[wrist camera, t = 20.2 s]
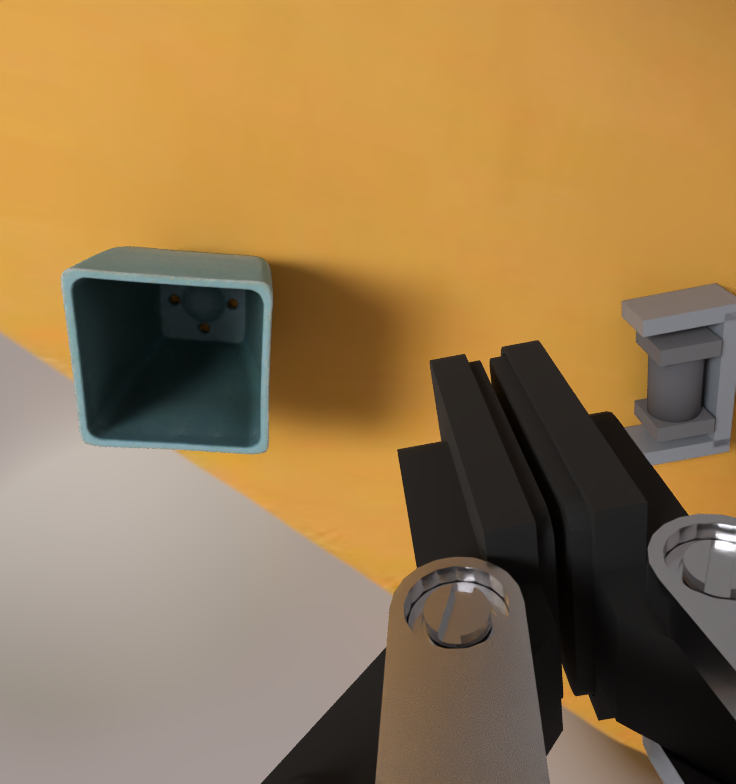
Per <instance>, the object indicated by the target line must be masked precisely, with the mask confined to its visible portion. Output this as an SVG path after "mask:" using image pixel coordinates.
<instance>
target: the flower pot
mask: <svg viewBox="0 0 736 784" xmlns="http://www.w3.org/2000/svg"><path fill="white" fill-rule="evenodd" d="M61 288H62V295H63V302H64V309H65V317H66V323H67V332H68V339H69V348H70V353H71V362H72V363H71V364H72V372H73V379H74V388H75V397H76V403H77V412H78V422H79V430H80V434H81V438H82V440H83V441H84V442H85V443H86V444H90V445H94V446H100V447H121V448H147V449H149V448H152V449H172V450H191V451H206V452H222V453H239V454H259V453H264V452H266V451H267V449H268V445H269V377H270V350H271V327H272V309H273V287H272V275H271V269H270V266H269V264H268V263H267V261H265V260H264V259H263V258H260V257H257V256H249V255H233V254H218V253H204V252H191V251H178V250H167V249H155V248H144V247H116V248H112V249H109V250H106V251H103V252H101V253H99V254H97V255H95V256H93V257H90V258H88V259H86V260H84V261H82V262H80V263H78V264H76V265H74V266H72V267H70V268H68V269H66V270H65V271H64V272H63V273H62V275H61ZM173 295H176V296H178V297H179V299H180V302H179V303H173V302H172V300H171V297H172V296H173ZM231 299H235V300H236V301H237V302H238V305H237V306H236V307H231V306H230V305H229V300H231ZM202 324H207V325H208V326H209V328H210V329H209V331H207V332H204V331H202V330H201V329H200V326H201V325H202Z"/></svg>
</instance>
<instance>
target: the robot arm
mask: <svg viewBox="0 0 736 784" xmlns="http://www.w3.org/2000/svg"><path fill="white" fill-rule="evenodd" d="M430 369H431V376H432V382H433V389H434V396H435V402H436V409H437V415H438V422H439V428H440V435H441V442H436V443H430V444H425V445H419V446H414V447H408V448H403V449H397V451H398V457H399V463H400V469H401V475H402V481H403V487H404V493H405V499H406V505H407V511H408V517H409V523H410V529H411V535H412V541H413V547H414V553H415V559H416V565H417V569H416V570H414V571H413V572H412V573H411V574H409V575H408V576H407V577H405V578H404V579H403V581H402V582H401V584H400V585H399V586H398V588H397V589H396V591H395V592H394V594H393V598H392V602H391V605H390V610H389V622H388V636H387V647H386V648H385V649H384V650H383V651H382V652H381V653H380V654H379V656H378V657H377V658H376V659H375V660H374V661H373V662H372V663H371V664H370V665H369V667H368V668H367V669H366V670H365V671H364V672H363V673H362V674H361V675H360V676H359V678H358V679H357V680H356V681H355V682H354V683H353V684H352V685H351V686H350V687H349V688H348V689H347V690H346V692H345V693H344V694H343V695H342V696H341V697H340V698H339V699H338V700H337V701H336V703H334V705H333V706H332V707H331V708H330V709H329V710H328V711H327V712H326V713H325V714H324V715H323V717H322V718H321V719H320V720H319V721H318V722H317V723H316V724H315V725H314V726H313V727H312V729H311V730H310V731H309V732H308V733H307V734H306V735H305V736H304V737H303V738H302V739H301V740H300V742H299V743H298V744H297V745H296V746H295V747H294V748H293V749H292V750H291V751H290V753H289V754H288V755H287V756H286V757H285V758H284V759H283V760H282V761H281V763H279V764H278V766H277V767H276V768H275V769H274V770H273V771H272V772H271V773H270V774H269V775H268V776H267V778H266V779H265V780H264V781H263V782H262V783H261V784H550V780H549V774H548V767H547V759H546V756H547V755H548V753H549V751H550V750H551V748H552V747H553V745H554V743H555V742H556V740H557V739H558V737H559V736H560V734H561V732H562V731H563V723H562V706H561V699H562V698H563V680H562V665H563V668H564V671H565V673H566V676H567V679H568V682H569V684H570V687H571V689H572V691H573V693H574V695H575V696H581V695H587V694H588V695H589V697H590V700H591V702H592V705H593V707H594V710H595V713H596V715H597V718H598V720H605V719H611V718H615V719H616V721H617V722H619V723H621V724H622V725H624V726H626V727H628V728H630V729H632V730H633V731H635V732H637V733H639V734H641V735H642V739H643V745H644V748H645V750H646V752H647V754H648V757H649V759H650V761H651V763H652V764H653V766H654V768H655V769H656V771H657V773H658V774H659V776H660V778H661V779H662V781H663V782H664V784H736V518H735V517H730V516H725V515H717V514H696V515H690V516H689V515H688V514H687V512H686V511H685V510H684V508H683V507H682V506H681V504H680V503H679V502H678V500H677V499H676V497H675V496H674V495H673V493H672V492H671V491H670V489H669V488H668V487H667V485H666V484H665V483H664V481H663V480H662V478H661V477H660V476H659V474H658V473H657V472H656V470H655V469H654V468H653V466H652V465H651V464H650V462H649V461H648V460H647V458H646V457H645V455H644V454H643V453H642V451H641V450H640V449H639V447H638V446H637V445H636V443H635V442H634V441H633V439H632V438H631V436H630V435H629V434H628V432H627V431H626V430H625V428H624V427H623V426H622V424H621V423H620V422H619V420H618V419H617V418H616V416H615V415H614V414H613V413H612V412H608V411H606V412H600V413H595V414H588V413H587V411H586V410H585V408H584V407H583V405H582V404H581V402H580V401H579V399H578V398H577V396H576V395H575V393H574V392H573V390H572V389H571V387H570V386H569V384H568V383H567V381H566V380H565V378H564V377H563V376H562V374H561V373H560V371H559V370H558V368H557V367H556V365H555V364H554V362H553V361H552V359H551V358H550V356H549V355H548V353H547V352H546V350H545V349H544V347H543V346H542V344H541V343H540V342H539V341H538V340H536V341H531V342H526V343H520V344H515V345H510V346H504V347H502V349H501V357H495V358H490V374H491V383H490V381H489V378H488V376H487V374H486V372H485V370H484V367H483V365H482V363H481V361H480V360H479V361H474V362H468V360H467V357H466V355H465V354H462V355H456V356H451V357H446V358H440V359H435V360H430ZM491 384H492V385H491Z"/></svg>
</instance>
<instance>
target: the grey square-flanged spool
mask: <svg viewBox="0 0 736 784" xmlns="http://www.w3.org/2000/svg"><path fill="white" fill-rule="evenodd" d="M636 342H637V344H638V345H639V346H640V347H641V348H642V349H643V350H644V351H645V352H646V353H647V354H648V355H649V356H648V388H647V399H641V400H636V401H635V409H634V414H635V415H636V417H637V418H638V419H639V420H640V422H641V423H642V424H643V425H644V427H645V428H646V429H647V430H648V432H649V433H650V434H651V435H652V437H653V438H654V439H655V441H656V442H663V441H669V440H674V439H680V438H686V437H691V436H697V435H703V434H708V433H714V425H715V418H714V417H713V416H712V415H711V414H710V413H709V412H708V411H707V410H706V409H705V408H704V407H703V406H702V405H701V398H702V385H703V372H704V359H706V358H712V357H717V356H721V348H722V339H720V338H719V337H718V336H717V335H715V334H714V333H713V332H712V331H710V330H709V329H708V328H707V327H705V326H701V327H696V328H690V329H685V330H680V331H674V332H669V333H663V334H658V335H653V336H647V337H642V336H641V335H640V334H639V333H638V332H637V331H636Z"/></svg>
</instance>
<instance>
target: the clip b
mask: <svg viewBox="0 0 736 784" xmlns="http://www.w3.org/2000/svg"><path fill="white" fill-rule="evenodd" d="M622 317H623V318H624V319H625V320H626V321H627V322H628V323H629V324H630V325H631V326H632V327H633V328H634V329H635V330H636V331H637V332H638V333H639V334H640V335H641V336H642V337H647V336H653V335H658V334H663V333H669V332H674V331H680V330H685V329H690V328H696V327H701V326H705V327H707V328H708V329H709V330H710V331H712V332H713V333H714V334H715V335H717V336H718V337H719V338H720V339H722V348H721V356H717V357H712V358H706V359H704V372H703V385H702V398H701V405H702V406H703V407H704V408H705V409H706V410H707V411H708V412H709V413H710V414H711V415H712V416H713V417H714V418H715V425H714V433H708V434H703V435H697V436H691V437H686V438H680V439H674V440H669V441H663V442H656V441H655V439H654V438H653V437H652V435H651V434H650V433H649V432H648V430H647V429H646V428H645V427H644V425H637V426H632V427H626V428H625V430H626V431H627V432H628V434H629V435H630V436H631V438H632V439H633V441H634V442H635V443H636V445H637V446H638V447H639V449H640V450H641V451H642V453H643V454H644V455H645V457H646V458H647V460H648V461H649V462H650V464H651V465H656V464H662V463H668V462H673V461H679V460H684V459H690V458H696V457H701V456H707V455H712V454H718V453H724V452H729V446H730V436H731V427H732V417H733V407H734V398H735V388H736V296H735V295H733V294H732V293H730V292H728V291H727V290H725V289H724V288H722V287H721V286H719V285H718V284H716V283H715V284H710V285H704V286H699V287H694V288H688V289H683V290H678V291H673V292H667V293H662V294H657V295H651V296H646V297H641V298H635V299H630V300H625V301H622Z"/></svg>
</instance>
